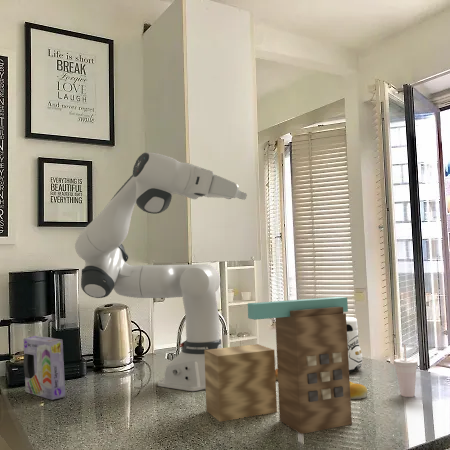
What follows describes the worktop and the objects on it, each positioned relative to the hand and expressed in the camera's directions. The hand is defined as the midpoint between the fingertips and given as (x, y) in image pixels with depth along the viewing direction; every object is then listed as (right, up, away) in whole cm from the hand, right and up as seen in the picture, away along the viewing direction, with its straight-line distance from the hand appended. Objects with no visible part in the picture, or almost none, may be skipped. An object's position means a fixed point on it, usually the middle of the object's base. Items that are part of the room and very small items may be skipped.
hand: (237, 196), depth 134 cm
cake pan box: (-61, -62, +15) cm, 88 cm away
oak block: (+1, -57, -9) cm, 58 cm away
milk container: (+36, -60, +34) cm, 78 cm away
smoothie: (+48, -57, 0) cm, 74 cm away
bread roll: (+33, -58, +3) cm, 66 cm away
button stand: (+18, -56, -19) cm, 62 cm away
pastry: (+16, -60, +25) cm, 67 cm away
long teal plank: (+15, -30, -18) cm, 38 cm away
